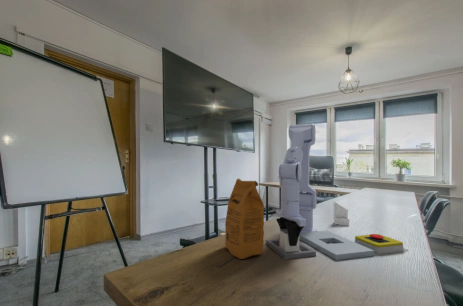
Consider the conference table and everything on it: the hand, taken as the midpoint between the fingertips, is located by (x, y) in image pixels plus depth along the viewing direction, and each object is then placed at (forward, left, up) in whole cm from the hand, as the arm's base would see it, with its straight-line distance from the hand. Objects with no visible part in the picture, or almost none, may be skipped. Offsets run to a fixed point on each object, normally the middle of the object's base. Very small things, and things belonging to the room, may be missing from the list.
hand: (289, 243), depth 68 cm
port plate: (0, +16, -2) cm, 16 cm away
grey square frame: (0, 0, -2) cm, 2 cm away
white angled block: (-22, +41, -2) cm, 47 cm away
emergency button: (+5, +31, -3) cm, 32 cm away
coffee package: (-2, -15, -2) cm, 15 cm away
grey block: (0, 0, -2) cm, 2 cm away
